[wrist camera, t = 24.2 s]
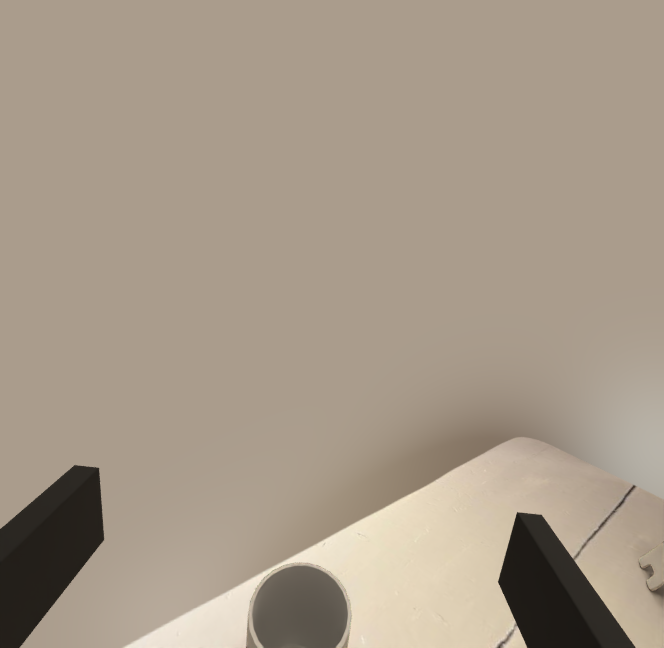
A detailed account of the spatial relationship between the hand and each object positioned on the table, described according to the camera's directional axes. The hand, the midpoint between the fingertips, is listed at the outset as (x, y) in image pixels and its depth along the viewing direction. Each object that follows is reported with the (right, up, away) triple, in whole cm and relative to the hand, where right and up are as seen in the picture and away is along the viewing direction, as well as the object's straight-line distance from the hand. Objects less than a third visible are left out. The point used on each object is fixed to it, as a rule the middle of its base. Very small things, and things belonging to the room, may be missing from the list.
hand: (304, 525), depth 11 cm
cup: (-2, -23, +15) cm, 27 cm away
